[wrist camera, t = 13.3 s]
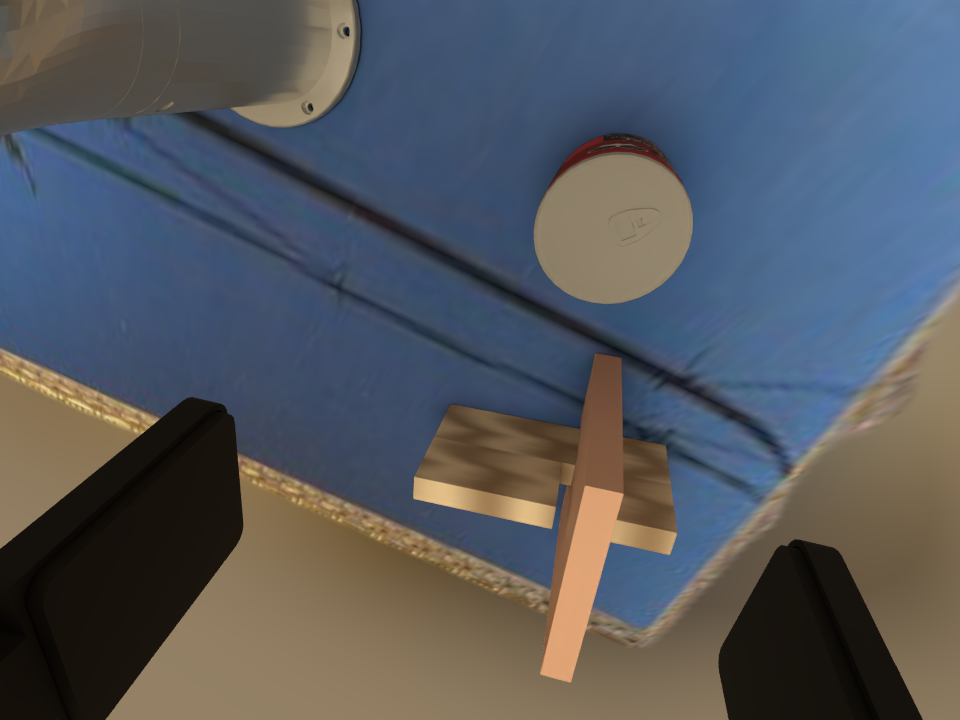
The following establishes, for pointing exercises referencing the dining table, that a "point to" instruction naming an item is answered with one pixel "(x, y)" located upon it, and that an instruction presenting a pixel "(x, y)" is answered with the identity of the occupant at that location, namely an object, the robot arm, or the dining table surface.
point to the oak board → (539, 474)
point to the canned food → (613, 221)
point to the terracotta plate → (586, 518)
